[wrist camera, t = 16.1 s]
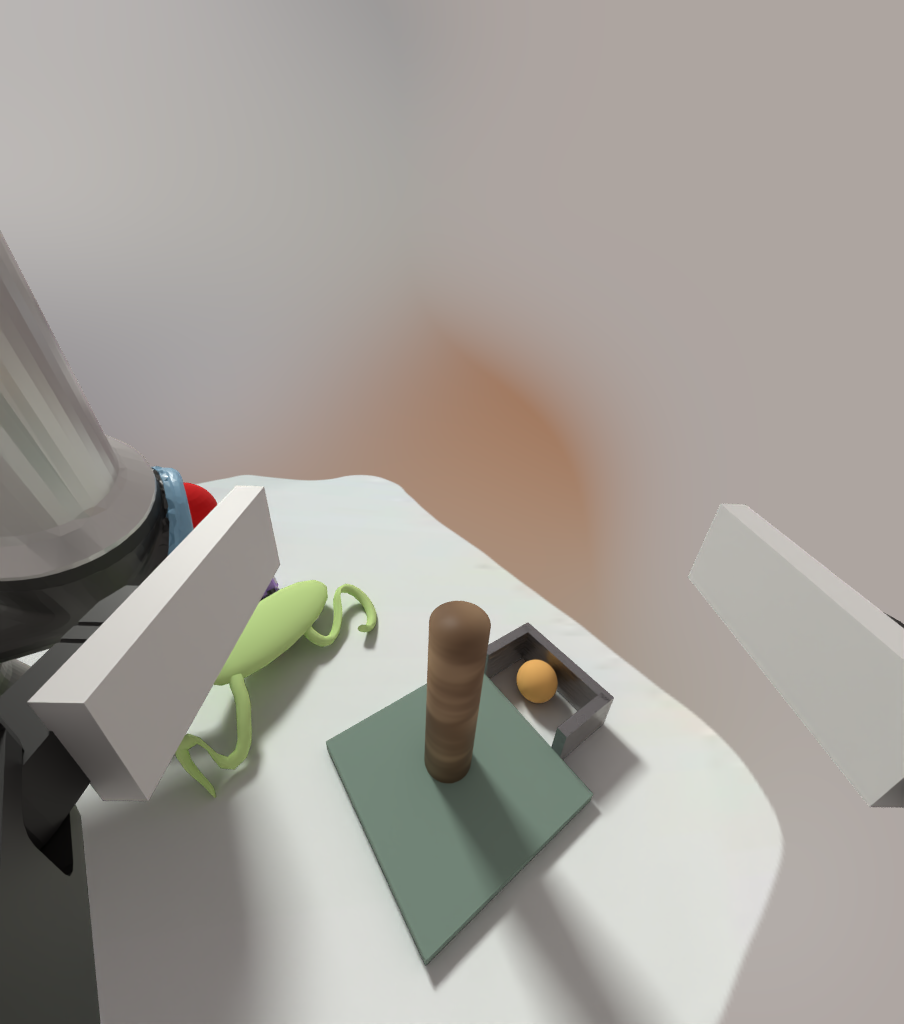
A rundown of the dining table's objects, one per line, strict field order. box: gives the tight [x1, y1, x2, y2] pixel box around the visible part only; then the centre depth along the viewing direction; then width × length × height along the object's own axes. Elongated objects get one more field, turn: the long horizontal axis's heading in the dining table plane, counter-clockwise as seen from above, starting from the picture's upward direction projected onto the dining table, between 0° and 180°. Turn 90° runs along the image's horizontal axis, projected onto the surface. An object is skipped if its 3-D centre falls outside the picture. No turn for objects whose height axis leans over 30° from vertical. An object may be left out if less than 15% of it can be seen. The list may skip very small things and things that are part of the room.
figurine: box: [175, 577, 377, 798], centre depth 42 cm, size 18×27×6 cm
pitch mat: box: [326, 674, 593, 966], centre depth 34 cm, size 16×16×1 cm
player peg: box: [424, 601, 491, 783], centre depth 31 cm, size 4×4×16 cm
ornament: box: [183, 483, 217, 529], centre depth 59 cm, size 9×9×10 cm
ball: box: [517, 660, 558, 703], centre depth 41 cm, size 4×4×4 cm
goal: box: [484, 623, 614, 760], centre depth 40 cm, size 6×11×4 cm, turn 36°
